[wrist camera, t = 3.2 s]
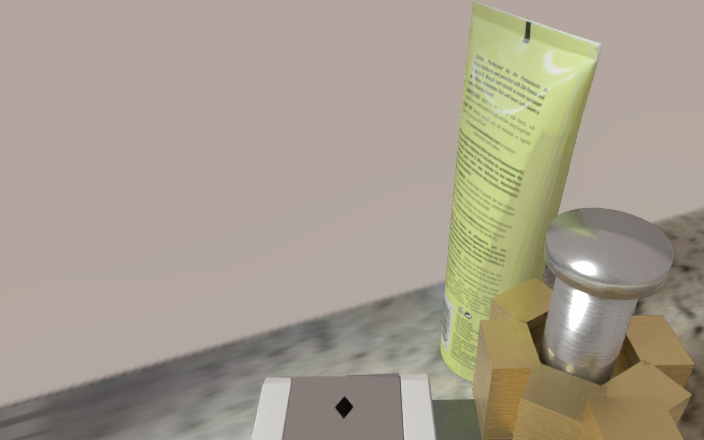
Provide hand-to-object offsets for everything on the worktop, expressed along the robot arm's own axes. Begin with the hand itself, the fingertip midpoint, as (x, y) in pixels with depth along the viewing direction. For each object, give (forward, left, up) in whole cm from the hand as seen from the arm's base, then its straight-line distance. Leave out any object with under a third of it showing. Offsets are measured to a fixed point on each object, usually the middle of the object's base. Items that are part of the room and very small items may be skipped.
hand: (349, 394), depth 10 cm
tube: (+7, +15, -17) cm, 23 cm away
